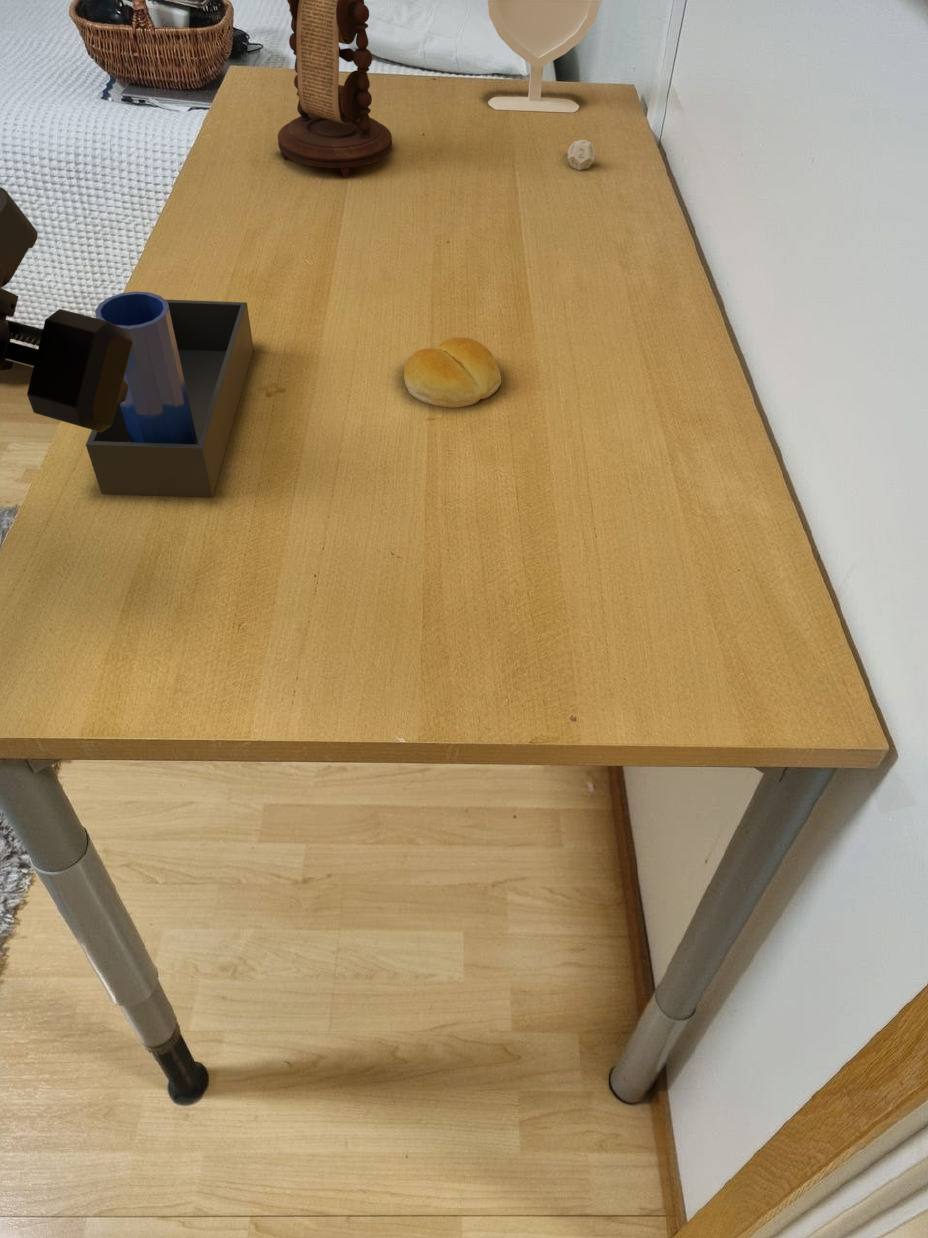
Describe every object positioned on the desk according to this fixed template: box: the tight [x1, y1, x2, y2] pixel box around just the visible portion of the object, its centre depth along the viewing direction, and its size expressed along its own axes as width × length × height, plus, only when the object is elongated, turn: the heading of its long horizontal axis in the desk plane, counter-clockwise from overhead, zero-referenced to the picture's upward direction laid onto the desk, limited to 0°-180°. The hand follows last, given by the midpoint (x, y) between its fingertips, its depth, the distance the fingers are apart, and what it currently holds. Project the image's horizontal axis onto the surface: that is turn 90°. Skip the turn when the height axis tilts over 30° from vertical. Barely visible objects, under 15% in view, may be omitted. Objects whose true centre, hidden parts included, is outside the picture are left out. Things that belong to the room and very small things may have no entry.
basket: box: [85, 298, 255, 498], centre depth 82 cm, size 22×9×6 cm, turn 0°
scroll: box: [277, 0, 393, 178], centre depth 115 cm, size 15×15×20 cm
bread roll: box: [403, 336, 502, 409], centre depth 87 cm, size 8×9×4 cm
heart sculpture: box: [487, 0, 602, 113], centre depth 131 cm, size 16×5×18 cm, turn 91°
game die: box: [567, 139, 596, 171], centre depth 123 cm, size 4×4×3 cm
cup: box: [94, 290, 198, 445], centre depth 74 cm, size 5×5×14 cm
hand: (67, 377), depth 64 cm, fingers open, 9 cm apart
